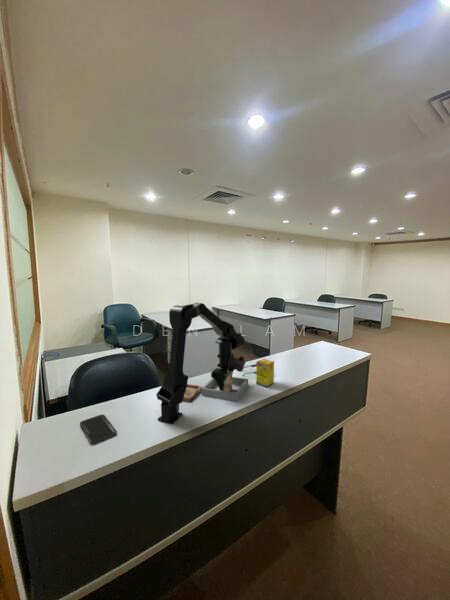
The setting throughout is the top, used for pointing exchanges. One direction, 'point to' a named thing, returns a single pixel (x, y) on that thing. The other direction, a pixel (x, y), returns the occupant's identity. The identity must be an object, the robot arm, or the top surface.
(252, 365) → the sunglasses
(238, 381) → the slate bin
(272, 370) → the supplement box
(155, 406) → the top surface
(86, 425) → the phone
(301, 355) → the top surface
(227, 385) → the maple block
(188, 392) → the walnut tray
